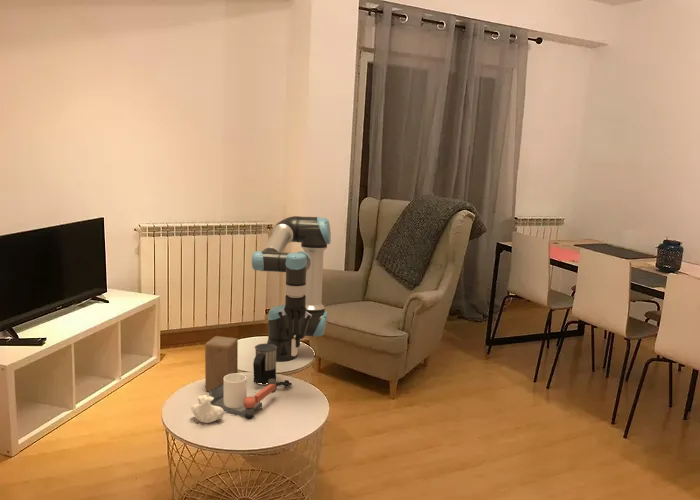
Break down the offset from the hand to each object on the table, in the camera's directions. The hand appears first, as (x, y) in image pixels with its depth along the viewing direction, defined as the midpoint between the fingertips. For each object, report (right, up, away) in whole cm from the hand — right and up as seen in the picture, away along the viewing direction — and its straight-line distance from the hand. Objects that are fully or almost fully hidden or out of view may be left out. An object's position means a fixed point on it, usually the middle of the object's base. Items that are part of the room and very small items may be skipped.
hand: (294, 354), depth 221 cm
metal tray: (-21, -19, -4) cm, 28 cm away
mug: (-22, -17, -3) cm, 28 cm away
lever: (-12, -17, -5) cm, 21 cm away
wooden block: (-30, -16, +12) cm, 36 cm away
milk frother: (-10, -15, +18) cm, 26 cm away
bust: (-29, -21, -15) cm, 39 cm away
